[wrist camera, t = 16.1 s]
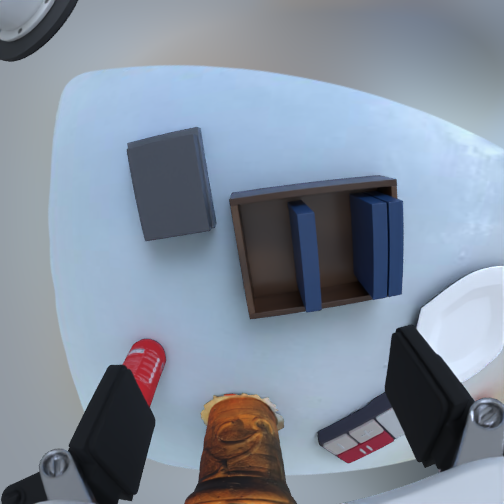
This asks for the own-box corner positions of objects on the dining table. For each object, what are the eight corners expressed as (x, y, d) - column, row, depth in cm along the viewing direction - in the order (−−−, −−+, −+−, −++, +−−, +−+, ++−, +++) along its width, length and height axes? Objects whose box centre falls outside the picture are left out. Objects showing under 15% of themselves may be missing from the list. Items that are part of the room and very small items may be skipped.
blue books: (349, 193, 33) (371, 204, 27) (375, 190, 33) (403, 200, 27) (353, 274, 37) (373, 300, 30) (378, 270, 36) (401, 294, 30)
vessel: (280, 379, 42) (293, 497, 23) (293, 433, 47) (305, 531, 28) (187, 392, 43) (163, 502, 24) (213, 443, 48) (204, 537, 29)
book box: (231, 192, 34) (229, 199, 30) (379, 175, 33) (396, 179, 29) (249, 300, 38) (249, 319, 34) (382, 279, 38) (396, 294, 33)
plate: (405, 401, 45) (409, 408, 43) (401, 294, 38) (407, 300, 36) (500, 352, 43) (505, 357, 41) (512, 245, 36) (520, 249, 34)
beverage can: (165, 338, 40) (142, 398, 29) (169, 366, 42) (149, 427, 30) (131, 334, 40) (99, 390, 29) (136, 362, 42) (110, 419, 30)
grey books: (133, 143, 32) (119, 143, 28) (200, 128, 32) (194, 125, 28) (151, 234, 35) (140, 244, 32) (216, 223, 35) (212, 232, 31)
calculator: (318, 447, 43) (397, 406, 40) (315, 429, 47) (390, 388, 44) (347, 466, 46) (417, 430, 42) (344, 449, 50) (410, 414, 46)
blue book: (287, 201, 34) (296, 214, 27) (301, 199, 34) (314, 212, 27) (296, 284, 37) (306, 312, 30) (309, 282, 37) (321, 310, 30)
